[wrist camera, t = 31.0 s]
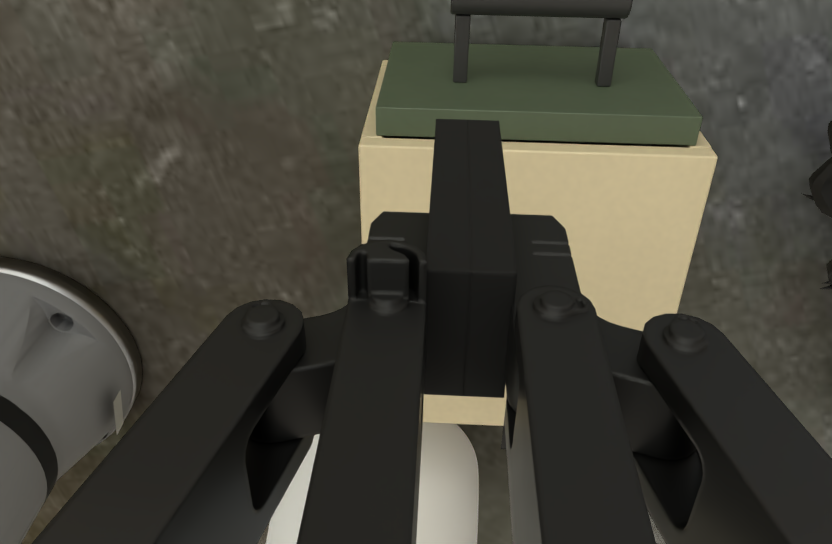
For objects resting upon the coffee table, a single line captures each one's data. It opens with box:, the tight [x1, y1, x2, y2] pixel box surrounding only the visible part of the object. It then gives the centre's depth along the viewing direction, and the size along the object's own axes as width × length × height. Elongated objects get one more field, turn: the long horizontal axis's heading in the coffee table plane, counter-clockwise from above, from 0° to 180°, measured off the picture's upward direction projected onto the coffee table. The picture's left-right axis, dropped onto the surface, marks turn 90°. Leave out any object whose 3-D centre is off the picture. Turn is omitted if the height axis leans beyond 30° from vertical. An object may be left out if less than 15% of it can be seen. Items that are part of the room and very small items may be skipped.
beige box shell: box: [358, 60, 718, 426], centre depth 36 cm, size 15×14×11 cm
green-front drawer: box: [375, 0, 703, 146], centre depth 34 cm, size 18×12×9 cm
